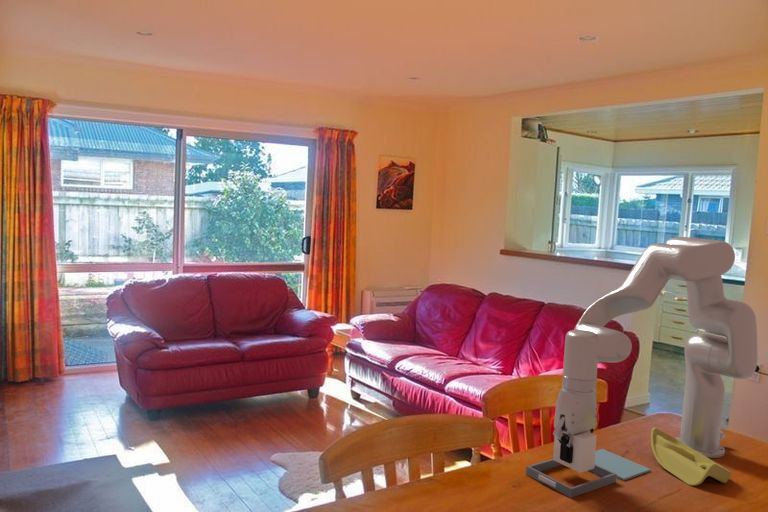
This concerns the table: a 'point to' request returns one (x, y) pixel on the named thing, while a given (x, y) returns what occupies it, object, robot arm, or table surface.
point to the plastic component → (685, 460)
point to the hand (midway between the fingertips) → (573, 457)
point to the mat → (619, 465)
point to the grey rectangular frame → (535, 473)
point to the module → (579, 451)
